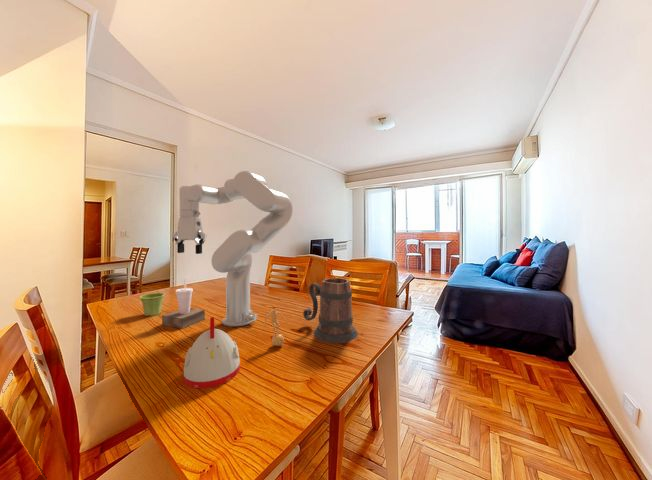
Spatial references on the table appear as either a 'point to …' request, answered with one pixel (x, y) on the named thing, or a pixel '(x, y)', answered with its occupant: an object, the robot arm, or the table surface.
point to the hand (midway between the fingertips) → (189, 253)
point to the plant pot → (152, 303)
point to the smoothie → (184, 299)
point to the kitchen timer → (211, 359)
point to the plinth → (183, 318)
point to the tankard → (332, 311)
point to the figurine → (277, 338)
